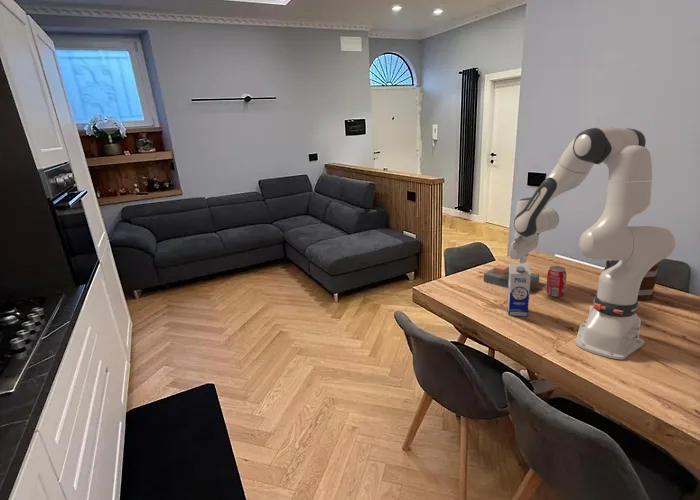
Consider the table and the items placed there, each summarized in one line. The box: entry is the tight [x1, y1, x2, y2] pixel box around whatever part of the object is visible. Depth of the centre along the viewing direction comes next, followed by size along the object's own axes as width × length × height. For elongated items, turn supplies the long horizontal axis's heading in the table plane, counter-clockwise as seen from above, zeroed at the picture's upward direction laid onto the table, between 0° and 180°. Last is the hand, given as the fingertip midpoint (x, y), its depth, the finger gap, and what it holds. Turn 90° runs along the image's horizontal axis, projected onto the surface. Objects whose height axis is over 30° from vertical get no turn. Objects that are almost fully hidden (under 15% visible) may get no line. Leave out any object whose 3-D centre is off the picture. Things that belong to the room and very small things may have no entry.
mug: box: [605, 260, 661, 302], centre depth 157 cm, size 20×14×15 cm
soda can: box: [545, 265, 567, 298], centre depth 160 cm, size 7×7×12 cm
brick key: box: [493, 264, 509, 275], centre depth 179 cm, size 5×5×3 cm
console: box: [483, 267, 541, 290], centre depth 176 cm, size 14×20×4 cm
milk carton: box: [506, 262, 532, 318], centre depth 147 cm, size 7×7×20 cm
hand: (522, 262), depth 170 cm, fingers closed
